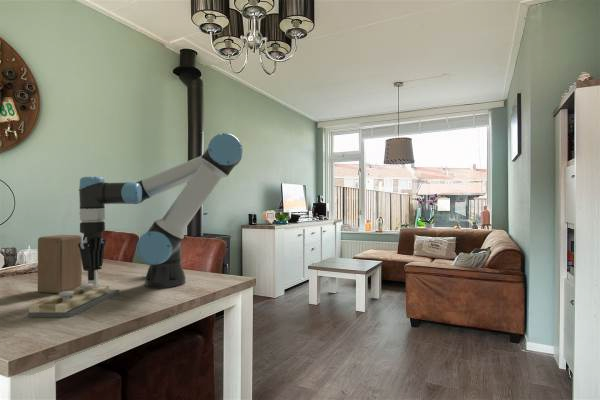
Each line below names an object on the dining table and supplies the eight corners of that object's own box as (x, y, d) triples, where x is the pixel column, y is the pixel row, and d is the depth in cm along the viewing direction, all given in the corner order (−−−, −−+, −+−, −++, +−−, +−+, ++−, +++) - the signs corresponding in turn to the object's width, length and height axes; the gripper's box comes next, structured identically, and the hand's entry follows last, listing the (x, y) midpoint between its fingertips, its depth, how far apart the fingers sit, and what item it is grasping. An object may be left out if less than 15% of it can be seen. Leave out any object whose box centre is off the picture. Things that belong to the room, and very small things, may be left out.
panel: (80, 292, 119) (80, 286, 119) (109, 292, 119) (109, 286, 119) (29, 312, 97) (29, 305, 97) (64, 312, 97) (64, 305, 97)
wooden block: (59, 294, 122) (59, 237, 122) (36, 293, 124) (36, 237, 124) (82, 287, 132) (82, 234, 132) (60, 286, 134) (60, 234, 134)
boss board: (85, 292, 124) (85, 278, 124) (119, 292, 124) (119, 278, 124) (28, 316, 98) (28, 298, 98) (70, 316, 98) (70, 298, 98)
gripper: (92, 220, 127) (93, 284, 127) (69, 222, 114) (70, 294, 114) (113, 220, 128) (113, 284, 127) (92, 222, 115) (93, 293, 114)
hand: (93, 288), depth 121 cm, fingers closed
